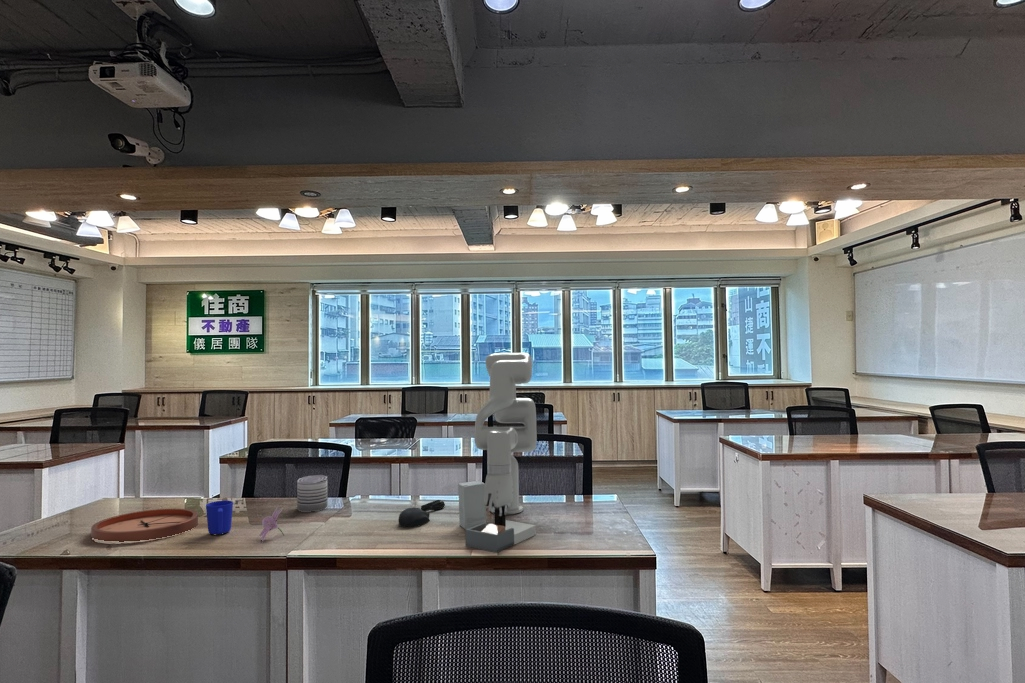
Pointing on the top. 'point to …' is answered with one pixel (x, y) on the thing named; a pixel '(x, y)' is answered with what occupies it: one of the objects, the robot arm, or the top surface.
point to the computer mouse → (418, 514)
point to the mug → (219, 516)
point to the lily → (270, 523)
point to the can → (312, 493)
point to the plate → (521, 530)
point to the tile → (493, 529)
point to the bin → (488, 539)
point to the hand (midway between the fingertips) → (500, 527)
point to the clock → (145, 525)
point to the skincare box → (471, 504)
